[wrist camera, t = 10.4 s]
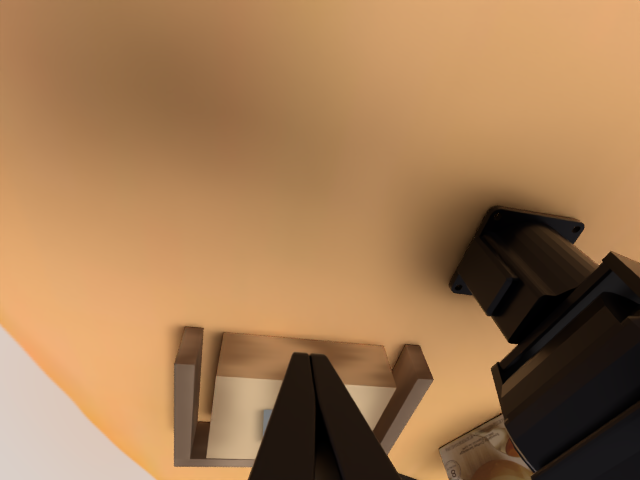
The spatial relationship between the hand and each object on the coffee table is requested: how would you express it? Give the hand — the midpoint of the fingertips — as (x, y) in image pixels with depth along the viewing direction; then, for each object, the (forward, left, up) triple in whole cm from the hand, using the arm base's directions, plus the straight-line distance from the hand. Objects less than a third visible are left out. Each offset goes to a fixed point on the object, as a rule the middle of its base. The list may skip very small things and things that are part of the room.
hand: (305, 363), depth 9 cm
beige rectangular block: (-3, +18, -12) cm, 22 cm away
